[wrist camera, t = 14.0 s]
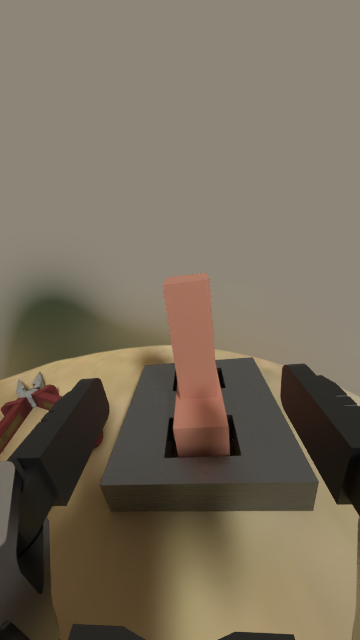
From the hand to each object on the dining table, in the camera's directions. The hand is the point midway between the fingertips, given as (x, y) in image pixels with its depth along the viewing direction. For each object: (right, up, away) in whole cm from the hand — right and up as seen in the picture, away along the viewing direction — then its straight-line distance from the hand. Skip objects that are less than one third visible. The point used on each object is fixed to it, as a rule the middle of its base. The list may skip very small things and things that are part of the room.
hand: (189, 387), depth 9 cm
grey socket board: (+2, -8, +11) cm, 14 cm away
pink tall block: (+2, -8, +11) cm, 14 cm away
